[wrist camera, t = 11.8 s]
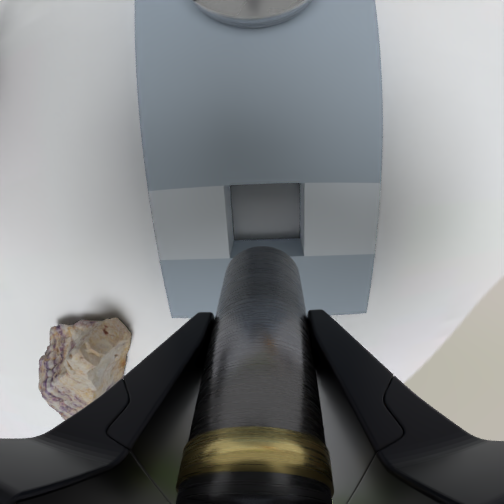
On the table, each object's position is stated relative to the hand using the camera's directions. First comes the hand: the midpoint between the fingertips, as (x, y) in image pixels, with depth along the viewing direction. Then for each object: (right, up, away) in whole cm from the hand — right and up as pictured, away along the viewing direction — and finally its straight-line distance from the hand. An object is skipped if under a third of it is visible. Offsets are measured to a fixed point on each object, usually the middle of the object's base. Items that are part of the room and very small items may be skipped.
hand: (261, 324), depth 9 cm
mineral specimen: (-14, -7, +16) cm, 23 cm away
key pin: (0, +1, +2) cm, 2 cm away
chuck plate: (0, +11, +7) cm, 13 cm away
